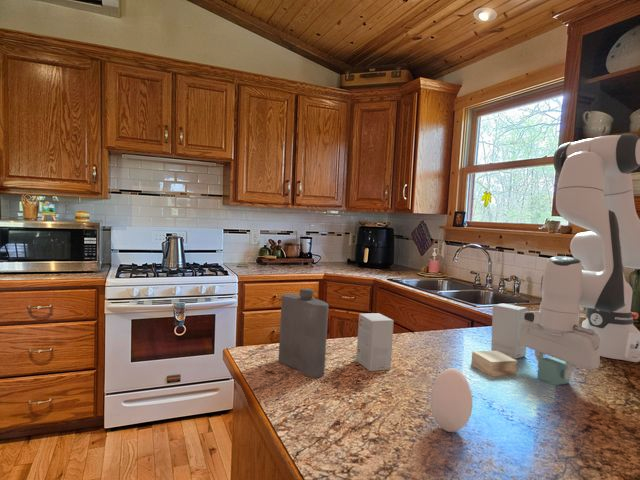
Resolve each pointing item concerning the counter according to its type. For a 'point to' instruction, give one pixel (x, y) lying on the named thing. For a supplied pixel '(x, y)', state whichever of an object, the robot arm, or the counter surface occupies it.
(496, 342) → the skincare box
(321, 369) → the flask
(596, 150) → the robot arm
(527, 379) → the counter surface
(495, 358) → the maple block
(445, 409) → the egg
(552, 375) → the teal cube
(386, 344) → the small box
